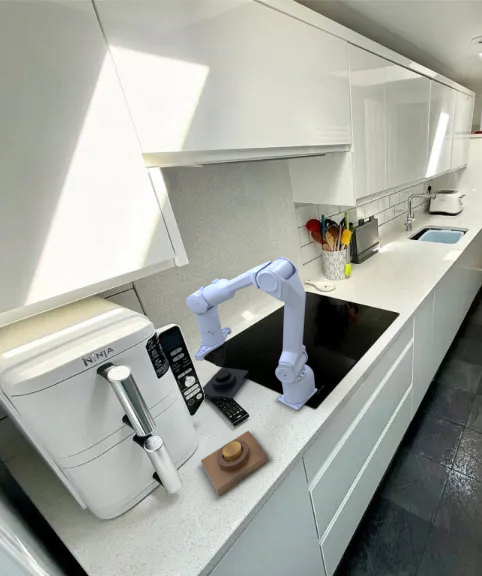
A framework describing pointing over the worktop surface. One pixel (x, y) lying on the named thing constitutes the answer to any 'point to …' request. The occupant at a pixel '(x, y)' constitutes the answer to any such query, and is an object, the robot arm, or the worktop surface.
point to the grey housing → (225, 385)
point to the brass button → (232, 451)
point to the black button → (222, 375)
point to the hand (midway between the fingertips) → (220, 365)
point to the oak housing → (234, 463)
